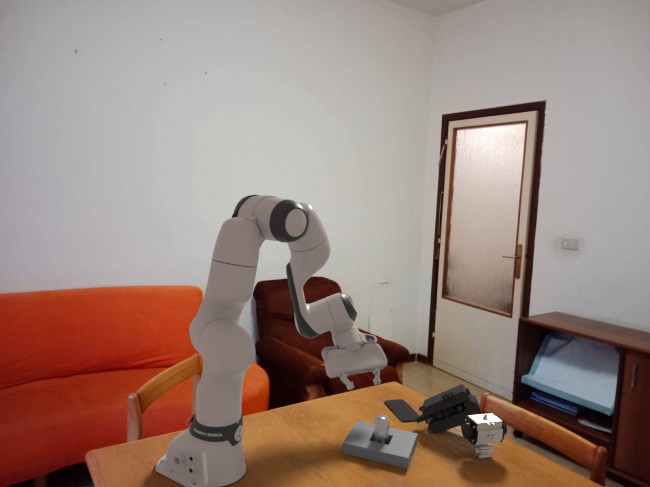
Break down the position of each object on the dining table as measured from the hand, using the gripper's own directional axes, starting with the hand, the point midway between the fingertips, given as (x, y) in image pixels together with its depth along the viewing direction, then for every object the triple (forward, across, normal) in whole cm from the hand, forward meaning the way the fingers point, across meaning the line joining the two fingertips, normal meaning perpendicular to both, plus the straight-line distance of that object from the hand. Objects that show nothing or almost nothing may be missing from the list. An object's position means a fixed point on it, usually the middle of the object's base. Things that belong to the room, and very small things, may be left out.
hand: (364, 386), depth 140 cm
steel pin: (+17, 0, +4) cm, 17 cm away
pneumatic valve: (+28, +24, -7) cm, 37 cm away
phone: (+6, +21, +16) cm, 27 cm away
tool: (+18, +25, +3) cm, 31 cm away
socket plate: (+17, 0, +4) cm, 17 cm away
